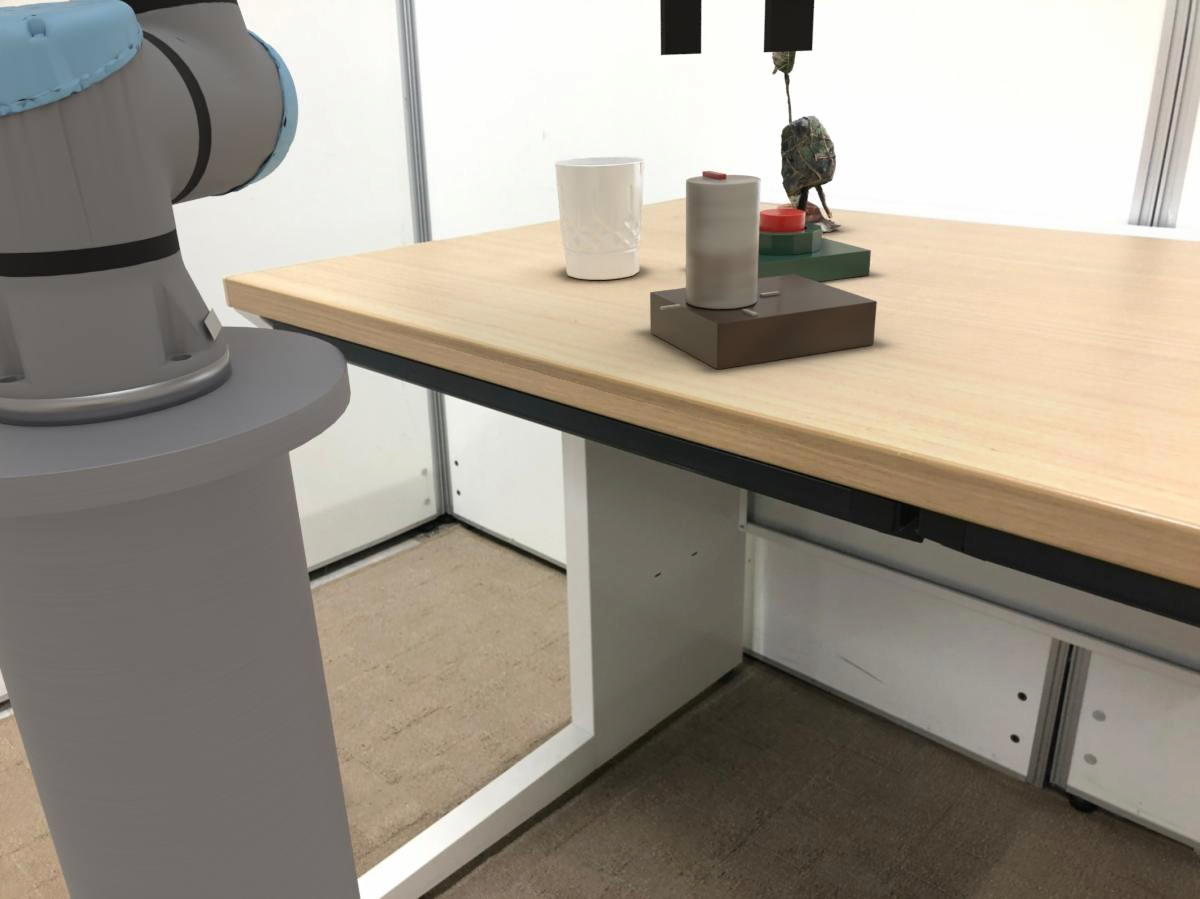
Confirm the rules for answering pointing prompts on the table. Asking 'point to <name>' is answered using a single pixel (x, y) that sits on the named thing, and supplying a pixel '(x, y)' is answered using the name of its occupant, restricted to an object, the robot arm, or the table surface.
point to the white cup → (600, 215)
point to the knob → (722, 240)
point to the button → (782, 220)
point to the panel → (766, 323)
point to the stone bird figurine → (805, 156)
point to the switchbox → (809, 256)
